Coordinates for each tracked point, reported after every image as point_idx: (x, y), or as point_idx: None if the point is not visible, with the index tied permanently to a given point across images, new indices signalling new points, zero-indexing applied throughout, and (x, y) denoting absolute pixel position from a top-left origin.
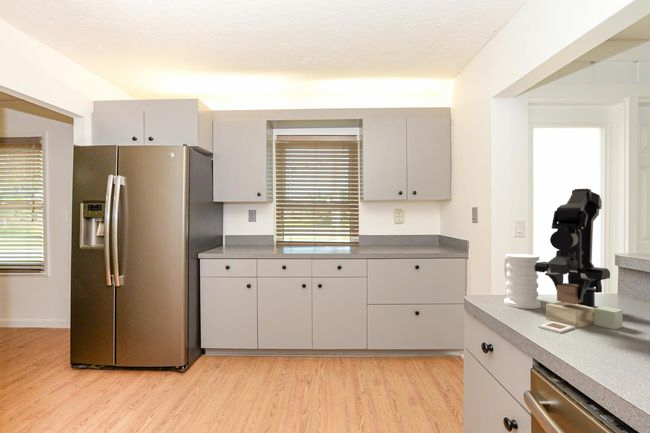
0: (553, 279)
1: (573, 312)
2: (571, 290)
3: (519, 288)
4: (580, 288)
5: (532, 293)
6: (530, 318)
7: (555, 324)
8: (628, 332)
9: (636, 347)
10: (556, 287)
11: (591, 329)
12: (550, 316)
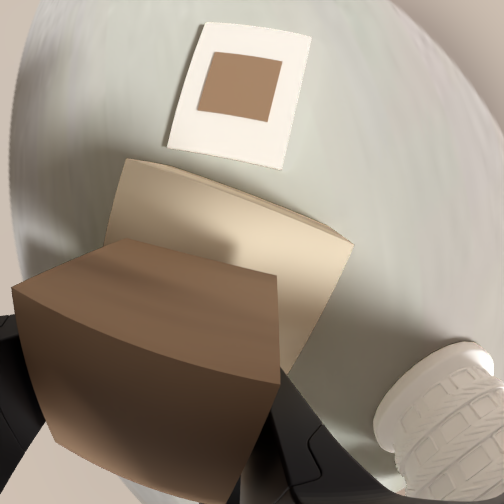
0: (360, 495)
1: (145, 163)
2: (73, 284)
3: (494, 410)
4: (5, 324)
5: (427, 436)
6: (394, 182)
7: (249, 100)
8: (40, 257)
9: (21, 100)
10: (299, 407)
11: (115, 192)
12: (306, 218)
